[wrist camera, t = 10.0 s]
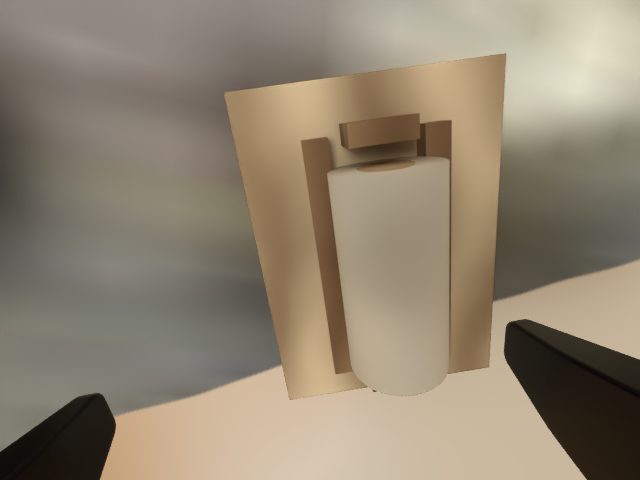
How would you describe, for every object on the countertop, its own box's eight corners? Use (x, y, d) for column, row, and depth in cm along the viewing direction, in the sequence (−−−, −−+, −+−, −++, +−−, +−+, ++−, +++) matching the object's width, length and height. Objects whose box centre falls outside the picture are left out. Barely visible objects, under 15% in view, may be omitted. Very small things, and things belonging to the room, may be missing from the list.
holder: (289, 385, 22) (289, 433, 18) (228, 94, 16) (210, 86, 12) (479, 354, 22) (512, 396, 19) (491, 58, 16) (544, 40, 13)
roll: (427, 324, 19) (467, 387, 15) (344, 336, 19) (359, 404, 15) (422, 152, 16) (473, 163, 11) (323, 166, 16) (332, 183, 11)
